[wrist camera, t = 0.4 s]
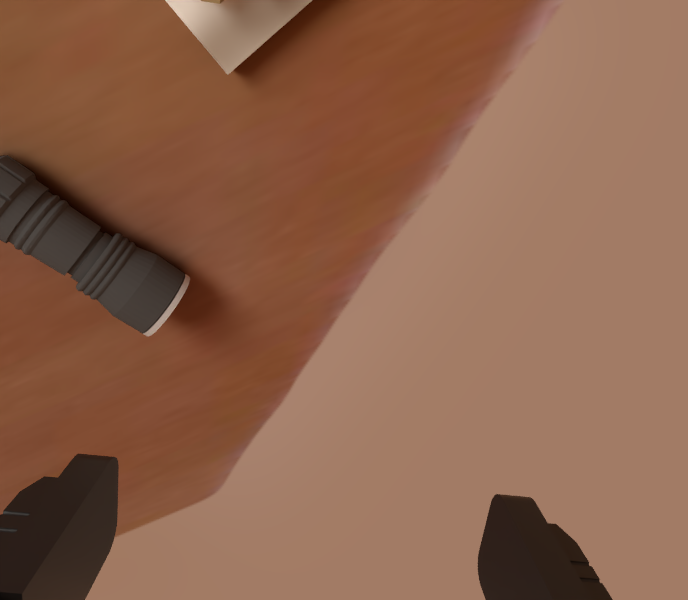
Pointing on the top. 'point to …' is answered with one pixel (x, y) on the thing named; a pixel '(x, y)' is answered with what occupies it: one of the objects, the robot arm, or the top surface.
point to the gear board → (235, 24)
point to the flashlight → (87, 252)
